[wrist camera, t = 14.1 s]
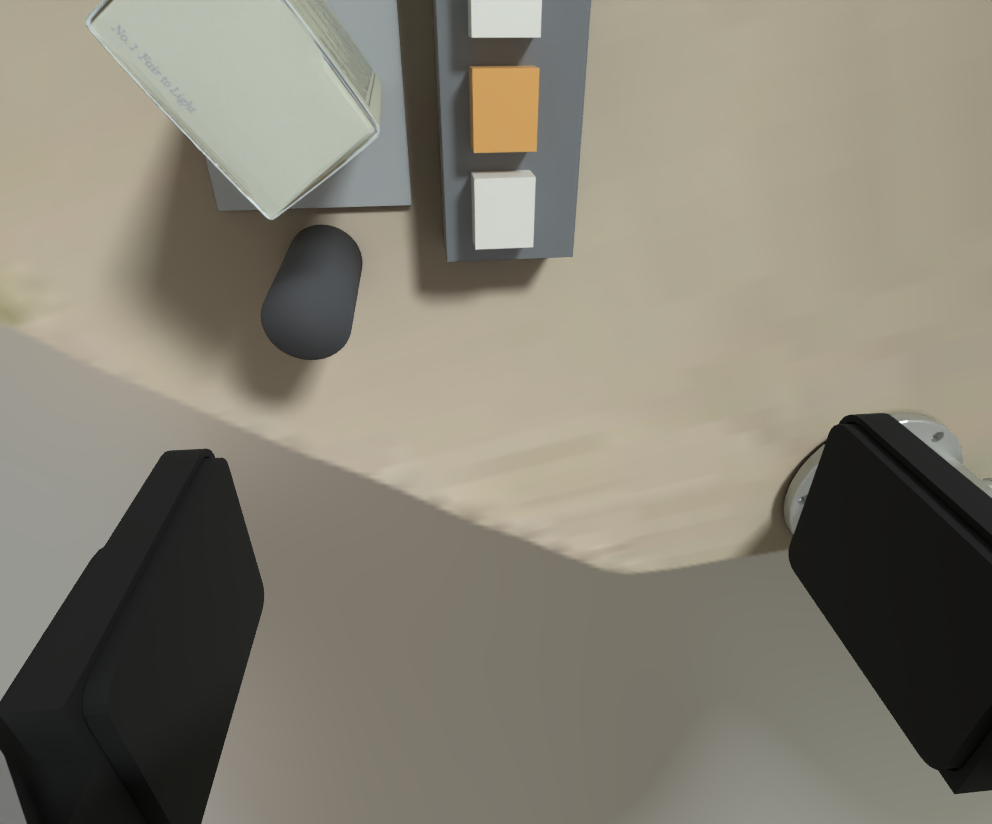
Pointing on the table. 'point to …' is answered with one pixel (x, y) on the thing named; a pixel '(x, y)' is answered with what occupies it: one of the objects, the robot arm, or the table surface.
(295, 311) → the dark grey capsule
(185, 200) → the table surface
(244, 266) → the table surface
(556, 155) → the grey button panel
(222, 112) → the skincare box
